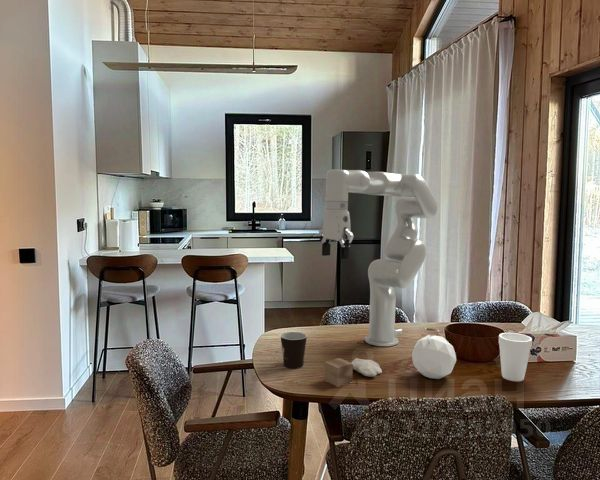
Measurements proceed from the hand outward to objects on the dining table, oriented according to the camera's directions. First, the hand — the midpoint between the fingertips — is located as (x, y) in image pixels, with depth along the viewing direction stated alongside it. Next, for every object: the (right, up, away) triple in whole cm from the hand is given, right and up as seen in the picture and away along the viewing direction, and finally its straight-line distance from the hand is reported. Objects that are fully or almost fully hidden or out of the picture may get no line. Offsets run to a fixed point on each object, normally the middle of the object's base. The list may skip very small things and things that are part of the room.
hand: (334, 257), depth 169 cm
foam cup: (+55, -37, -13) cm, 68 cm away
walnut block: (0, -37, -18) cm, 41 cm away
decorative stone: (+9, -37, -8) cm, 39 cm away
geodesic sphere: (+30, -37, -13) cm, 49 cm away
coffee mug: (-14, -36, -3) cm, 38 cm away
